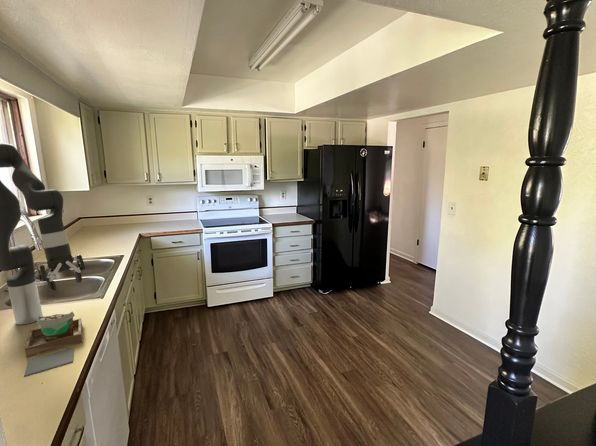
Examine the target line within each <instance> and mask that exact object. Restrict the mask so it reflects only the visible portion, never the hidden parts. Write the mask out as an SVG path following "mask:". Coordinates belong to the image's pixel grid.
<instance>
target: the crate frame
mask: <svg viewBox="0 0 596 446" xmlns="http://www.w3.org/2000/svg"><path fill="white" fill-rule="evenodd" d="M74 329H78V333H75V334H74V335H71V336H68V337H64V338H60V339H56V340H52V341H49V342H42V343H38V344H34V341H35V339H38V338H44V336H43V333H42V330H41V327H39V328H35V329H29V332H28V336H27V340H26V344H25V346H24V352H25V356H26V358H30V357H35V356H37V355H41V354H44V353H48V352H51V351H55V350H58V349H63V348H66V347H70V346H74V345H77V344H80V343H81V344H82V343H83V323H82V318H76V319H73V330H74Z"/></svg>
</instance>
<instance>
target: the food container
mask: <svg viewBox="0 0 596 446" xmlns="http://www.w3.org/2000/svg"><path fill="white" fill-rule="evenodd" d="M75 316H76V315H75V313H74V312H73V311H71V312H70V313H65V314H64V313H63V314H53V315H48V316H43V317H40V316H38V318H37V321H36V324H37V326H39V328H41V330H42V333H43V339H44V341H45V342H49V341H52V340H56V339H60V338H64V337H68V336H71V335H75V334H74V332H75V331H74V329H73V320H74V317H75ZM45 342H44V343H45Z"/></svg>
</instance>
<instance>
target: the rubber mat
mask: <svg viewBox="0 0 596 446" xmlns="http://www.w3.org/2000/svg"><path fill="white" fill-rule="evenodd" d="M73 362H74V347H73V346H72V347H69V348H65V349H62V350H57V351H55V352H51V353H47V354H43V355H39V356H36V357H34V358H28V360H27V363H26V367H25V372H24V376H23V377H24V378H25V377H28V376H31V375H35V374H38V373H42V372H44V371H45V372H46V371H48V370H51V369H54V368H58V367H62V366H64V365H65V366H66V365H67V364H72V363H73Z"/></svg>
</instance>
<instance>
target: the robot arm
mask: <svg viewBox="0 0 596 446" xmlns="http://www.w3.org/2000/svg"><path fill="white" fill-rule="evenodd" d="M0 168H1V169H2V168H13V171H12V174H11V180H12V183H13V184H14V186H15V187H16V188H17V189H18V190H19V191H20V192H21V193H22V196H23V198H24V199H25V203H26V207H27V208H29V209H30V210H31V211H35V212H40V211H46V210H47V211H48V210H50V211H49V214H48V215H46V216H43V217H40V218H39V219H38V220H37V224H38V229H39V232H40V235H41V243H42V247H43V248H42V249H43V251H44V255H45V258H46V263H45V264H44V263H43V264H37V266H36V268H37V274H38V279H39V282H45V283H47V285H48V289H49V290H50V291H51V292H56V291H57V286H56V283H55V277H56V276H57V274H58V273H62V272H64V271H69V270H71V271H72V272H74V278H75V282H76V283H77V284H80V283H82V281H83V277H82V271H84V270H86V266H85V262H84V259H83V256H82V255H81V254H75V255H74V256H72V251H71V247H70V242H69V239H68V236H67V233H66V229H65V226H64V222H63V221H64V220H63V207H64V198H63V197H64V196H63V195H62V193H61V192H60V191H59V190H58V189H46V186H45V185H44V183H43V182H42V180H40V179H39V178H38V177H37V175H36V174H34V173H33V172H32V171H31V169H30V167H29V166H28V164H27V162H26V161H25V159H24V158H23V156H22V155H21V153H20V152H19V150H18V149H17V148H16V147H15V146H14V145H13V144H11V143H3V142H2V143H1V142H0ZM20 204H21V203H20V200H19V198H18V197H17V196H16V195H15V194H14V192H12V190H10V189H9V188H8V187H7V186H6V185H5V184H4V183H3V181H1V179H0V271H2V272H9V271H14V270H16V269H19V270H18V271H17V272H15V273H14V274H12V275H11V276H9V277H8V278H7V279H6V285H7V289H8V290H7V291H8V294H9V298H10V303H11V308H12V314H13V317H14V322H15V324H16V325H18V326H19V325H20V326H23V325H28V324H32V323H34V322H37V318H38V316H40V317H44V316H43V311H42V310H43V309H42V305H41V300H40V296H39V289H38V286H37V280H36V270H35V263H34V256H33V251H32V249H31V248H30V247H29V246H28V245H27V244H20V245H16V246H11V247H9V246H10V238H11V236H12V234H13V232H14V231H15V229H16V227H17V226H18V224H19V222H20V219H21V217H22V210H21V205H20ZM74 261H75V262H76V265H77V266H76V265H74V264H73V263H74ZM47 268H49V269H50V270H49V271H48V273H46V270H47Z"/></svg>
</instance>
